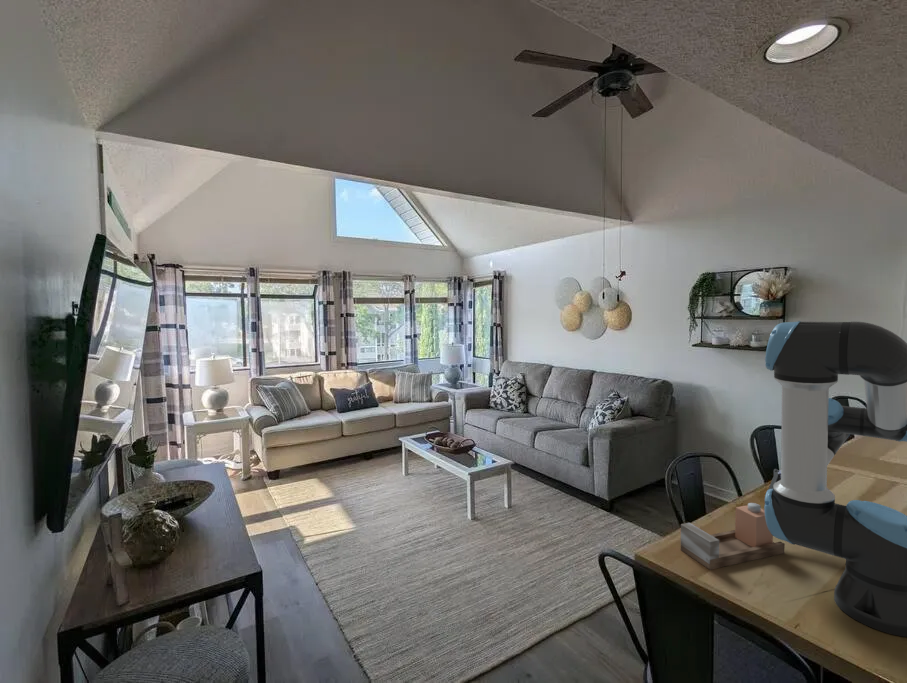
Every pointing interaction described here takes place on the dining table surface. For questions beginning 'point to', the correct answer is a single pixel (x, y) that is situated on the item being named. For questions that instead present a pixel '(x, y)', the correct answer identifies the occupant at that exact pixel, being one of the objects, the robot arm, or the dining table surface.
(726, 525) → the dining table surface
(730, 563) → the track
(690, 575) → the dining table surface
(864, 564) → the robot arm
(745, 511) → the block
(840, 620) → the dining table surface
